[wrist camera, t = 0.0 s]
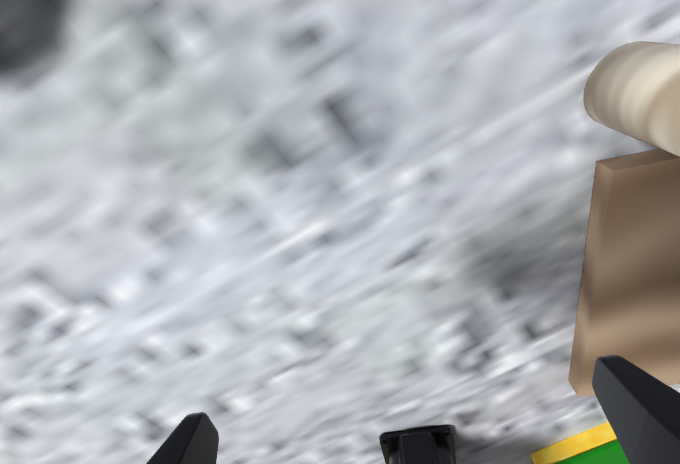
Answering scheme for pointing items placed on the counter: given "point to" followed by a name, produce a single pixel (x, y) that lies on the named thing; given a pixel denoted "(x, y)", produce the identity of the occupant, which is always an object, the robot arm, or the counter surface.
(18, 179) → the counter surface
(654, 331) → the subfloor panel
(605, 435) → the dish sponge
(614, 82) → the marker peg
